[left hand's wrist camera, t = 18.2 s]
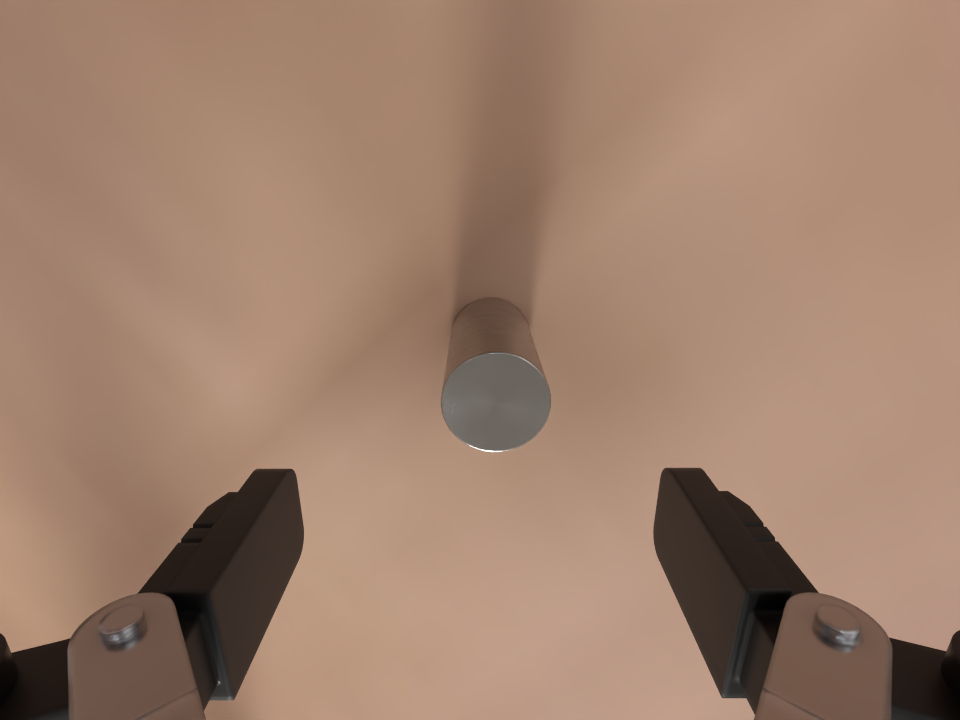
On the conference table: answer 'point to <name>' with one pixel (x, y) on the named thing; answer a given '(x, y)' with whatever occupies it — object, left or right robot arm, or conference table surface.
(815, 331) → the conference table surface
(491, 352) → the tin
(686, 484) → the left robot arm
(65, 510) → the conference table surface
